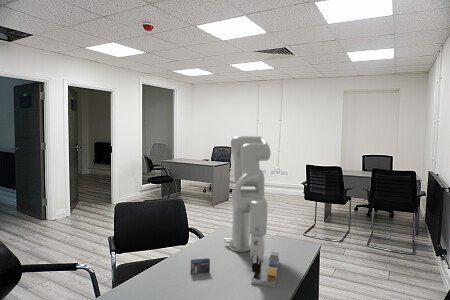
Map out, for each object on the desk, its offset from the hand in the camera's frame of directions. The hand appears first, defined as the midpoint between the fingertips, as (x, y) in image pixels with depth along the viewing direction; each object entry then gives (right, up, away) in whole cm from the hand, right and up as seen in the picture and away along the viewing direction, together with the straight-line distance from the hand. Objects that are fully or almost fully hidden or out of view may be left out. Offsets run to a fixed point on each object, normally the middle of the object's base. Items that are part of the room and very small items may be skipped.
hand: (256, 271), depth 127 cm
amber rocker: (+7, 0, 0) cm, 7 cm away
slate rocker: (+10, +1, +12) cm, 16 cm away
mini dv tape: (-24, -3, +4) cm, 25 cm away
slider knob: (+1, -1, +4) cm, 4 cm away
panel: (+5, -3, +7) cm, 9 cm away
